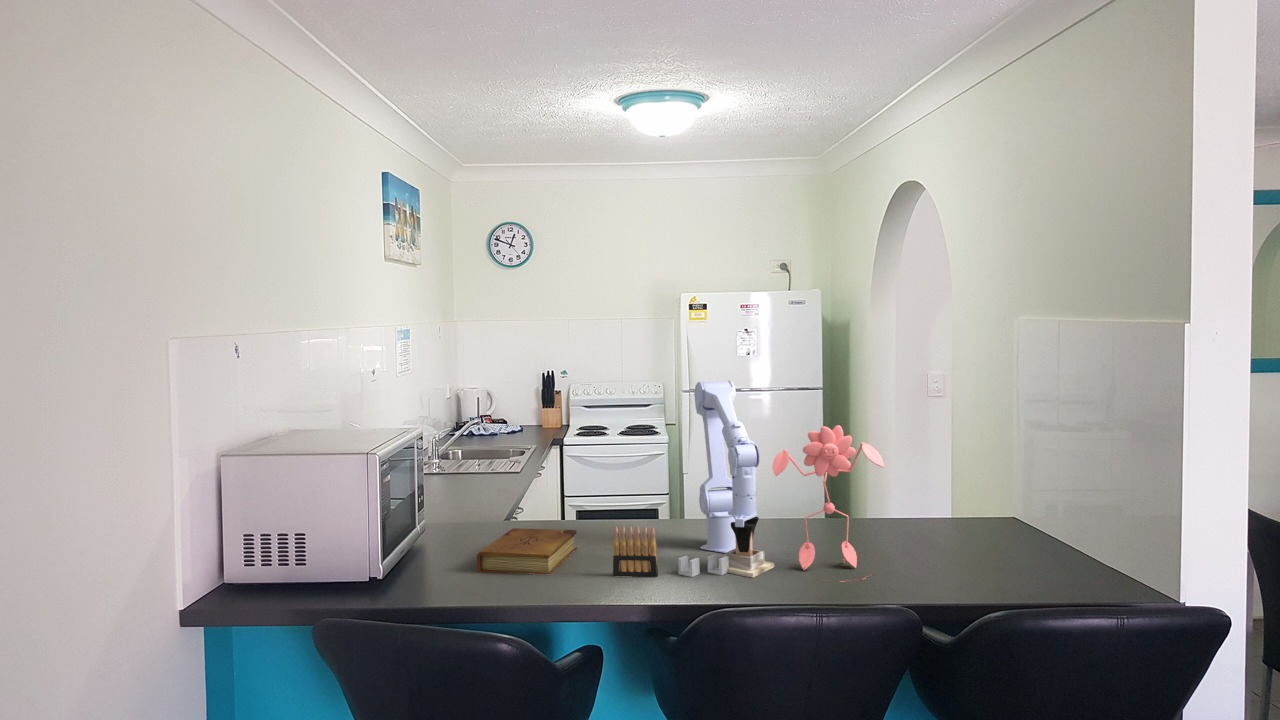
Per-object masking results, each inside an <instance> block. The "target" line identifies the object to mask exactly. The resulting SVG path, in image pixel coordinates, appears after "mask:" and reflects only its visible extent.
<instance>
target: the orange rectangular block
mask: <svg viewBox="0 0 1280 720" xmlns="http://www.w3.org/2000/svg"><path fill="white" fill-rule="evenodd" d="M735 541H736V549H735V550H736V555H741V556H746V557H750V556H752V555H753V545H754V544H753V541H752V533H751V538H750V546H749V551H748V552H739V549H738V544H737V540H736V536H735Z"/></svg>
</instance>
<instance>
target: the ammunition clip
mask: <svg viewBox="0 0 1280 720" xmlns="http://www.w3.org/2000/svg"><path fill="white" fill-rule="evenodd" d="M625 528H626V527H625V526H624V525H623V526H622V527H621V531H620V532H621V533H619V530H618V527H617V525H615V527H614V529H613V543H612V546H613V549H612V551H613V554H612V555H613V556H612V562H613V563H612V577H614V576H632V577H631V578H658V576H659V567H658V552H657V539H656V531H655V528H654V526H651V528H650V535H649V534H648V529H647V527H646V525H645V526H644V527H643V531H642V532H643V533H642V538H641V530H640V527H639V526H636V529H635V541H634V532H633V528H632V526H631V525H630V526H629V528H628V531H627V532H628V533H627V532H626V529H625ZM626 533H627V534H628V535H627V534H626ZM619 534H620V536H619ZM627 536H628V537H627ZM649 536H650V538H649ZM641 539H642V541H641Z"/></svg>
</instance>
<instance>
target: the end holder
mask: <svg viewBox="0 0 1280 720" xmlns="http://www.w3.org/2000/svg"><path fill="white" fill-rule="evenodd" d="M725 556H728V561H729V568H728V573H727V574H732V575H737V576H743V577H748V578H755V577H758V576H759V575H761V574H764V573H765V572H767V571H769V570H771V569H773V568H775V562H770V561H766V559H765V558H766V557H765V556H766V554H765V550H758V549H753V555H752V556H750V557H746V556H741V555H736V549H734V550H731V551H729V552H727V553H725ZM717 567H718V568H719V565H717Z"/></svg>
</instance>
